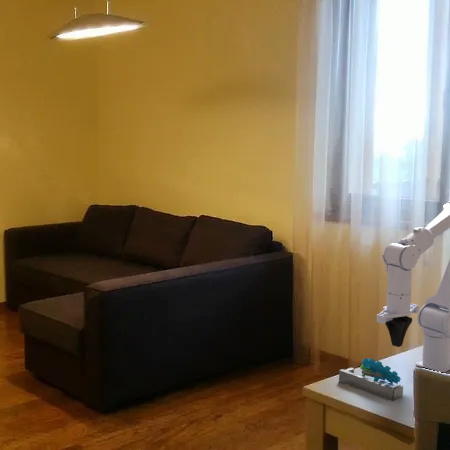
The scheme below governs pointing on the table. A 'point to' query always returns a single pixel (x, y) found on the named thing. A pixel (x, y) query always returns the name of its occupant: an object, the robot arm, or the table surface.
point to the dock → (370, 385)
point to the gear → (378, 371)
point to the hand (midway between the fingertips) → (396, 345)
